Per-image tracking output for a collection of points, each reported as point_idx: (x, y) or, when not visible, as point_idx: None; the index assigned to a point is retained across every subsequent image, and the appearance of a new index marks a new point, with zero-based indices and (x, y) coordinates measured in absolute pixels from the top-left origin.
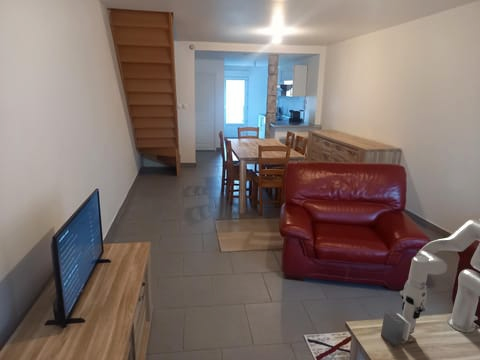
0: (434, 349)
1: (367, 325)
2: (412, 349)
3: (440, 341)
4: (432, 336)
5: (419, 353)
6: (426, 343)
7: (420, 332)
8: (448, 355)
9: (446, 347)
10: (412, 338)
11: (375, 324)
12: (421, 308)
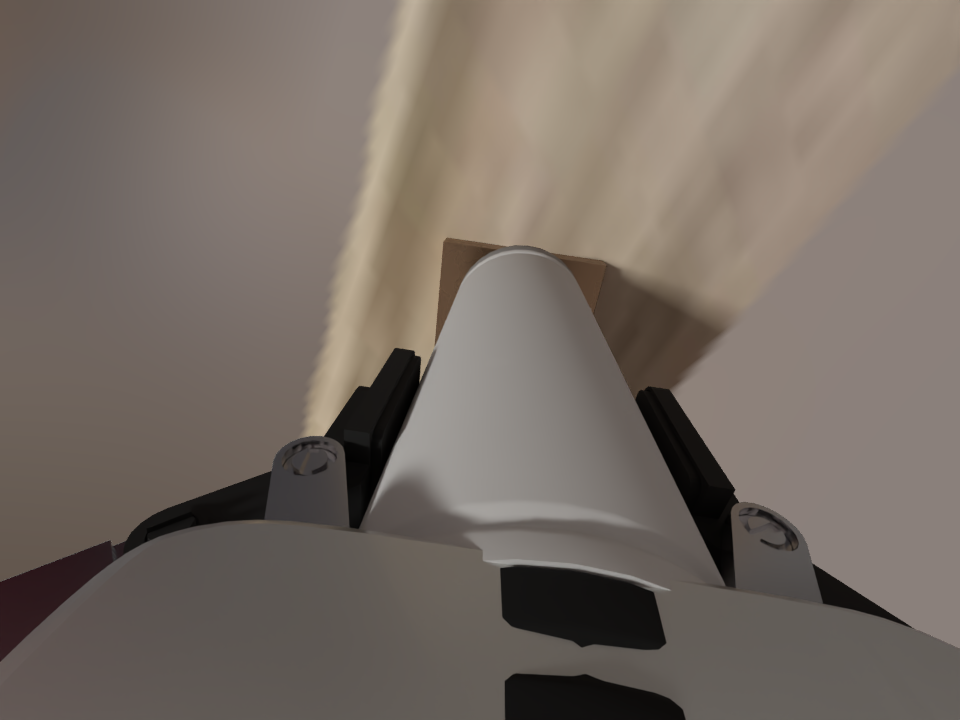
0: (757, 198)
1: (319, 426)
2: (630, 360)
3: (765, 6)
4: (670, 17)
5: (684, 352)
6: (673, 194)
7: (559, 96)
8: (888, 146)
9: (846, 40)
10: (579, 286)
11: (326, 374)
12: (814, 595)
